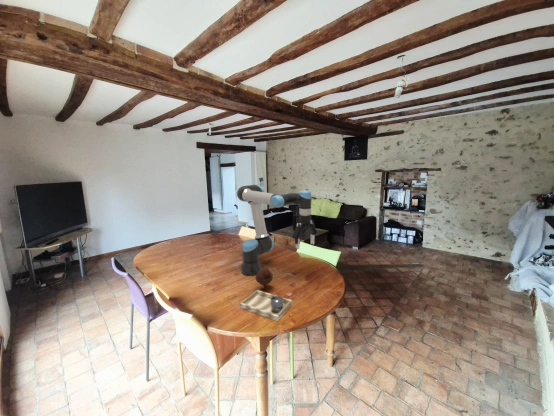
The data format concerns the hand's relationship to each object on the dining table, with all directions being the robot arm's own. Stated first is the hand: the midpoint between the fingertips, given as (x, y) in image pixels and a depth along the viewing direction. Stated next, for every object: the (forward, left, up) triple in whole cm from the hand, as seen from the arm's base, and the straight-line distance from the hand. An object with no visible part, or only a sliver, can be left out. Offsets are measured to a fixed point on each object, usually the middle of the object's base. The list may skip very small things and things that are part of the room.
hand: (305, 246), depth 149 cm
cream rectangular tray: (-7, -38, -25) cm, 46 cm away
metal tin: (0, -38, -24) cm, 45 cm away
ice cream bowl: (-18, -23, -25) cm, 38 cm away
